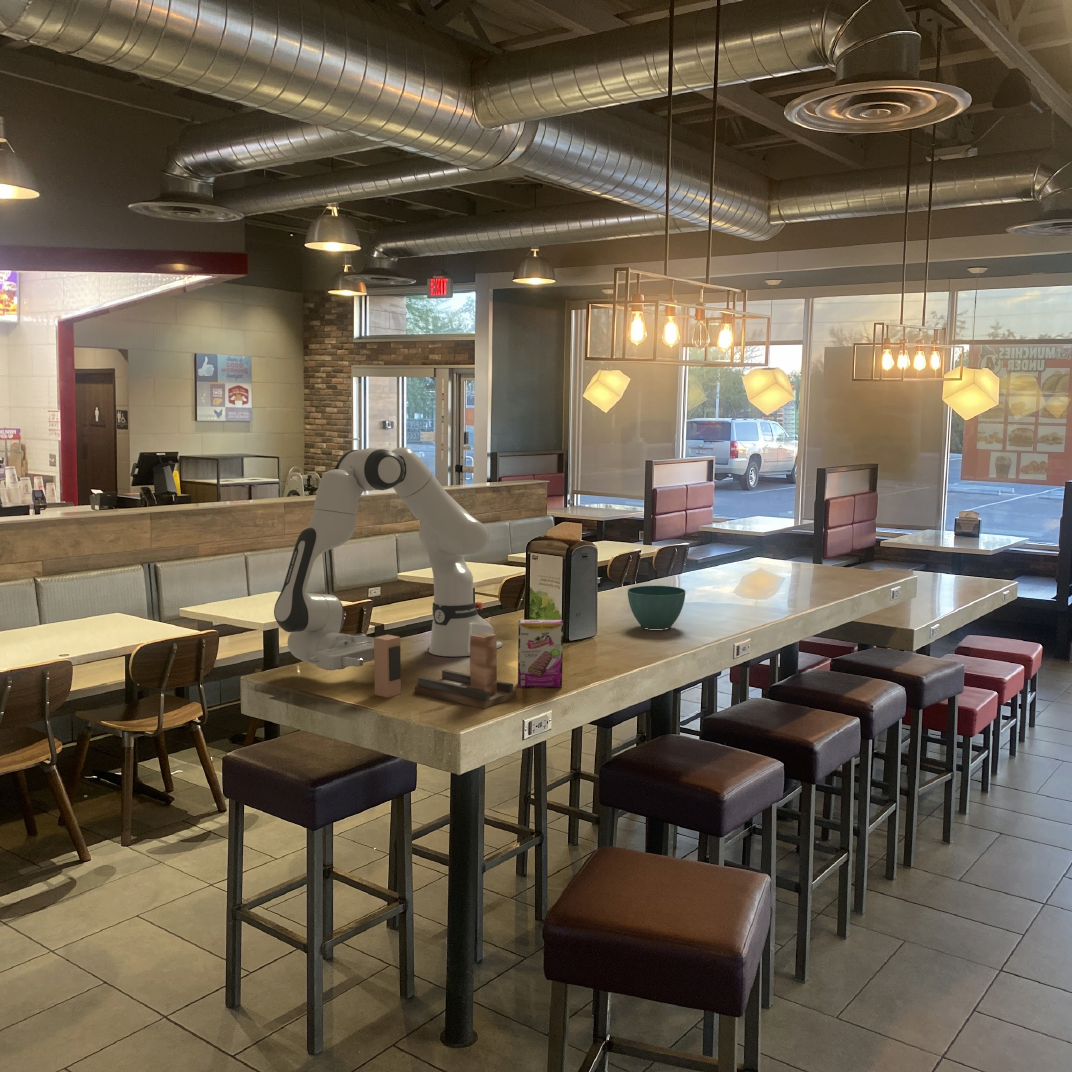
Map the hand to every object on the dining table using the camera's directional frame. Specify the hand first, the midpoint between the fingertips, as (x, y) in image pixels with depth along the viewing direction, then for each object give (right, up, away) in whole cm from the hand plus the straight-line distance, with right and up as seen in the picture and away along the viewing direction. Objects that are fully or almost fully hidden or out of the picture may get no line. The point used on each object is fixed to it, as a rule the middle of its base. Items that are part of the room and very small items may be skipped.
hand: (375, 659), depth 247 cm
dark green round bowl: (+77, 0, +76) cm, 108 cm away
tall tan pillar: (+3, -8, -2) cm, 9 cm away
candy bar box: (+40, -8, +6) cm, 41 cm away
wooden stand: (+22, -8, -2) cm, 23 cm away
